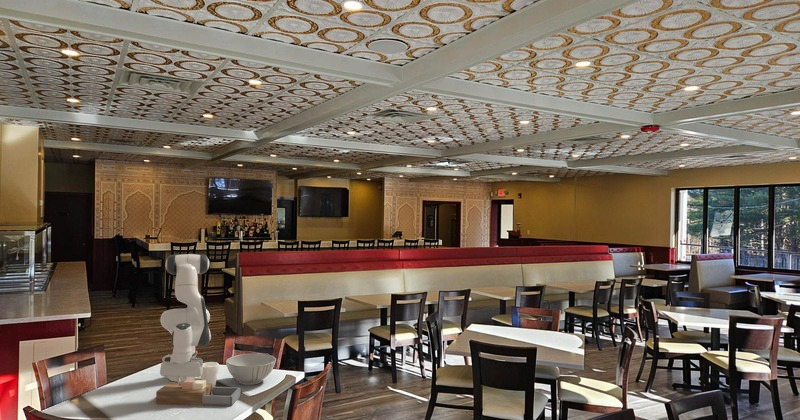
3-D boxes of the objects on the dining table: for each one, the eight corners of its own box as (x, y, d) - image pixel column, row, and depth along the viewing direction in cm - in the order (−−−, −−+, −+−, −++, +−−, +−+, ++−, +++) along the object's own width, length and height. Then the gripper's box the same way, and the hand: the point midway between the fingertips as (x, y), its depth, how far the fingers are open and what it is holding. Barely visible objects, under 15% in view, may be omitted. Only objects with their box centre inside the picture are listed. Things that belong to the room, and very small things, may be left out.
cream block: (196, 386, 265) (196, 380, 265) (206, 386, 265) (206, 380, 265) (192, 389, 260) (192, 383, 260) (202, 389, 260) (202, 383, 260)
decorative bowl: (268, 390, 281) (268, 367, 281) (217, 388, 281) (218, 365, 281) (280, 375, 307) (281, 354, 308) (234, 373, 308) (235, 352, 308)
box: (212, 395, 270) (213, 386, 270) (240, 396, 270) (240, 387, 270) (202, 405, 256) (202, 395, 256) (231, 406, 256) (231, 396, 256)
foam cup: (198, 392, 274) (198, 367, 274) (199, 387, 282) (200, 362, 283) (217, 391, 276) (218, 366, 276) (218, 386, 285) (219, 361, 285)
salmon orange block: (186, 385, 265) (186, 379, 265) (196, 386, 265) (196, 380, 265) (182, 389, 260) (182, 383, 260) (192, 389, 260) (192, 383, 260)
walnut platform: (168, 394, 270) (168, 382, 270) (211, 395, 270) (212, 383, 270) (155, 404, 256) (156, 391, 256) (201, 405, 256) (202, 392, 256)
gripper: (205, 356, 266) (204, 383, 266) (164, 354, 266) (163, 382, 266) (200, 359, 260) (199, 387, 259) (159, 358, 260) (158, 386, 260)
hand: (181, 385), depth 263 cm, fingers closed
